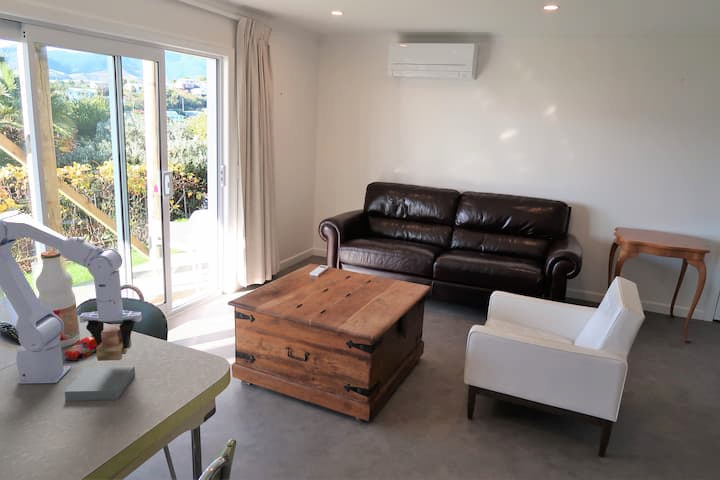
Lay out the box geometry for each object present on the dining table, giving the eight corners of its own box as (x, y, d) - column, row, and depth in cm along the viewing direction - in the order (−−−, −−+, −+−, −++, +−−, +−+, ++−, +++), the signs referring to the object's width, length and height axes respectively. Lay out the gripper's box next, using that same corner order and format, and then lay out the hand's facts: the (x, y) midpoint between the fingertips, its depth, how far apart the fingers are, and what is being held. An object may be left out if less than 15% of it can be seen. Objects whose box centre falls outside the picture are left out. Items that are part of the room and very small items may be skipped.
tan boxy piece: (97, 360, 124) (96, 348, 123) (110, 346, 131) (108, 334, 131) (120, 360, 124) (118, 347, 123) (131, 346, 132) (130, 334, 131)
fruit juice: (83, 343, 147) (72, 254, 140) (46, 352, 141) (33, 259, 134) (77, 332, 154) (66, 246, 147) (42, 340, 148) (29, 251, 141)
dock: (65, 400, 118) (64, 391, 117) (88, 375, 130) (87, 366, 129) (117, 399, 119) (116, 390, 118) (135, 374, 131) (134, 365, 130)
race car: (73, 364, 136) (71, 351, 135) (60, 359, 138) (58, 346, 137) (114, 345, 147) (113, 332, 146) (102, 341, 149) (101, 328, 148)
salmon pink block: (102, 345, 125) (100, 332, 124) (110, 336, 129) (108, 324, 129) (118, 344, 125) (117, 332, 124) (125, 336, 130) (124, 324, 129)
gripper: (144, 292, 128) (148, 339, 132) (86, 292, 127) (91, 340, 130) (134, 302, 122) (139, 351, 125) (73, 302, 120) (79, 352, 124)
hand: (114, 346), depth 127 cm, fingers closed on tan boxy piece, 5 cm apart
